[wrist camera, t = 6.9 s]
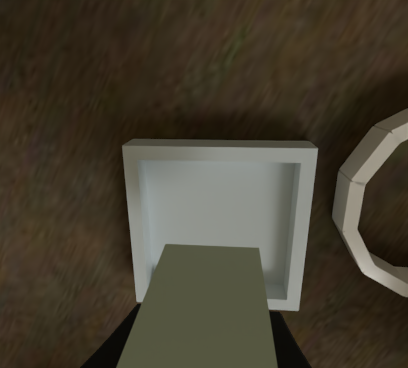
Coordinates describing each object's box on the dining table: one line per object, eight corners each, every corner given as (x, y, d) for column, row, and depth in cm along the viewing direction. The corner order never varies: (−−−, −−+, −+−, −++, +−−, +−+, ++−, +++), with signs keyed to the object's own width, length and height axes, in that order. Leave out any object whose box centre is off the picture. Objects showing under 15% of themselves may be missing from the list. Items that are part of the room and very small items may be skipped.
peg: (259, 247, 13) (296, 485, 5) (254, 323, 14) (278, 597, 7) (165, 243, 13) (78, 462, 6) (169, 317, 15) (102, 574, 7)
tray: (309, 140, 18) (318, 148, 16) (292, 290, 22) (298, 310, 20) (133, 138, 19) (121, 145, 17) (144, 282, 22) (136, 301, 21)
